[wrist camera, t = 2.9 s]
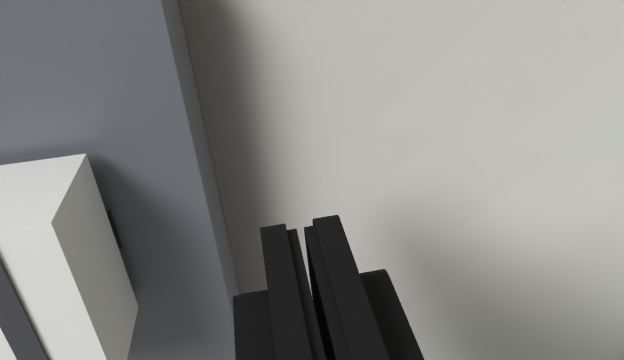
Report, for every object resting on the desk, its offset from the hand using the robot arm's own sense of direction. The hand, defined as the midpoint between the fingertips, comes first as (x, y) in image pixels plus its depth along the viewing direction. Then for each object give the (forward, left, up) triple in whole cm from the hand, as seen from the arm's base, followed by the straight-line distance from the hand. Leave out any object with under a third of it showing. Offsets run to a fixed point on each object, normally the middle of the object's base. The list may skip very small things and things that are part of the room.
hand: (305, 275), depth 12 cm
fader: (+6, 0, -3) cm, 7 cm away
